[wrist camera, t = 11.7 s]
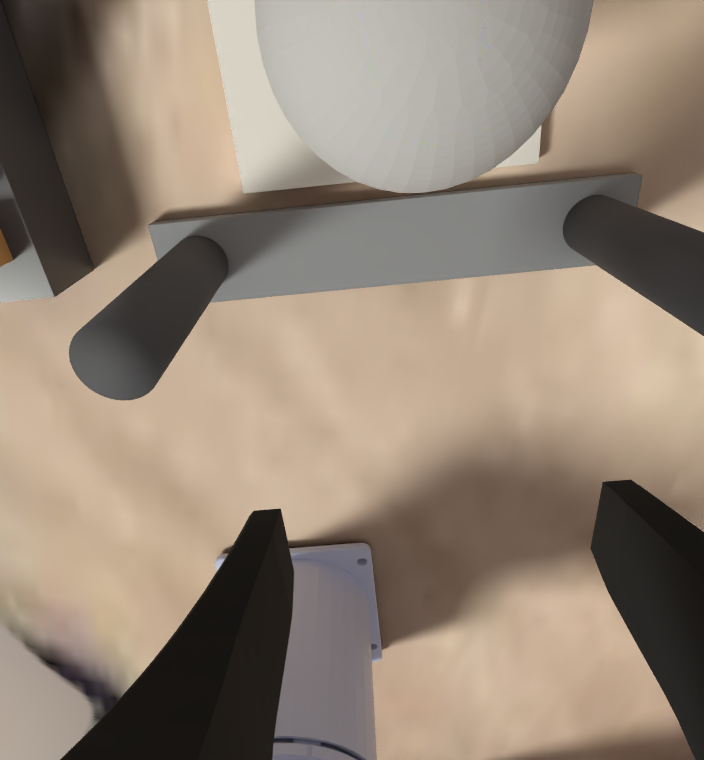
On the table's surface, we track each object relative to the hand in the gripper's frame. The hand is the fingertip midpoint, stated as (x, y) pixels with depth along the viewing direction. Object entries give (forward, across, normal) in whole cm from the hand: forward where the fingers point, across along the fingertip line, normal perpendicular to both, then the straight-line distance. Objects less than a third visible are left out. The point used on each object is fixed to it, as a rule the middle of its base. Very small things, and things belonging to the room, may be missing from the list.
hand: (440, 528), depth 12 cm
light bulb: (+10, 0, -10) cm, 14 cm away
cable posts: (+10, 0, -4) cm, 11 cm away
